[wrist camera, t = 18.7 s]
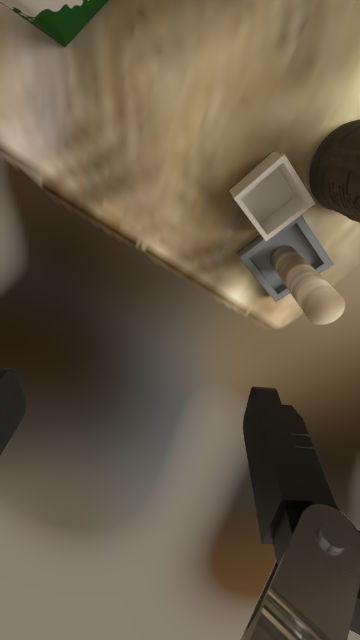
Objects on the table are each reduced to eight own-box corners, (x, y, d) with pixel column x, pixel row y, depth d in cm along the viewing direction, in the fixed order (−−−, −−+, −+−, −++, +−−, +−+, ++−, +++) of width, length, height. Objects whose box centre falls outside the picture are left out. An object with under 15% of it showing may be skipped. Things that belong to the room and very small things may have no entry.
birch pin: (265, 257, 45) (299, 307, 32) (287, 239, 44) (334, 285, 30) (279, 274, 47) (318, 330, 33) (301, 258, 45) (351, 310, 32)
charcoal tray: (237, 252, 46) (239, 257, 44) (294, 208, 43) (299, 212, 40) (272, 295, 50) (275, 302, 48) (327, 258, 46) (333, 264, 44)
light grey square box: (228, 190, 42) (233, 198, 37) (272, 151, 39) (284, 154, 34) (257, 229, 44) (266, 241, 39) (300, 195, 42) (315, 203, 37)
